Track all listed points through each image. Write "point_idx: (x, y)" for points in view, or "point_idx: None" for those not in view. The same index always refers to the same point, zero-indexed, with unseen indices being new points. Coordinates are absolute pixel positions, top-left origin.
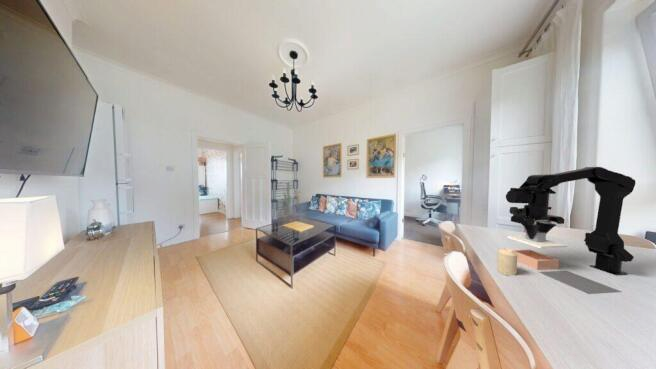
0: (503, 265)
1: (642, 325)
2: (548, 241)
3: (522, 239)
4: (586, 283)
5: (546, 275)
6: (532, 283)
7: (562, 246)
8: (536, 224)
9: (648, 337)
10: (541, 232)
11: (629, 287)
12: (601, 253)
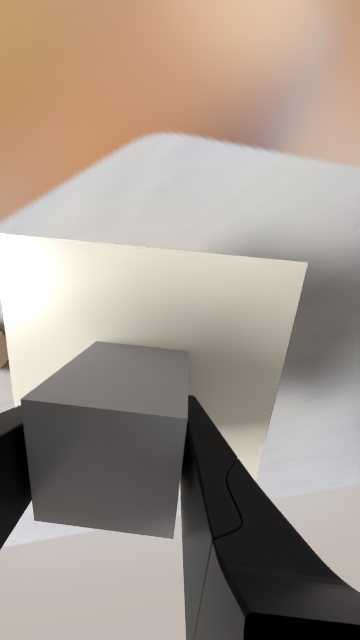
0: None
1: (76, 528)
2: (225, 428)
3: (43, 345)
4: None
5: None
6: (12, 405)
7: None
8: (228, 609)
9: (42, 539)
10: (131, 515)
11: (280, 474)
12: None
